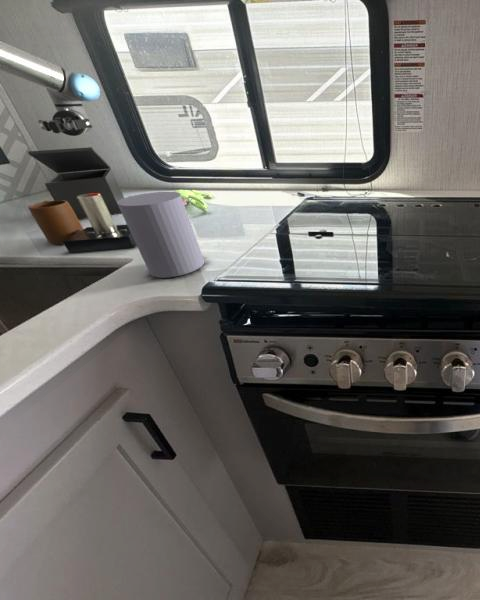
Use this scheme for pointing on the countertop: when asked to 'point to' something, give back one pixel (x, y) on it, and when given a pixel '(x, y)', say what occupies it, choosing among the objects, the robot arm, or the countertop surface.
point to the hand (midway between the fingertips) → (54, 127)
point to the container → (162, 233)
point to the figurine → (196, 196)
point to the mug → (56, 220)
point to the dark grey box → (86, 189)
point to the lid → (70, 159)
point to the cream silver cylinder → (97, 213)
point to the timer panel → (100, 240)
